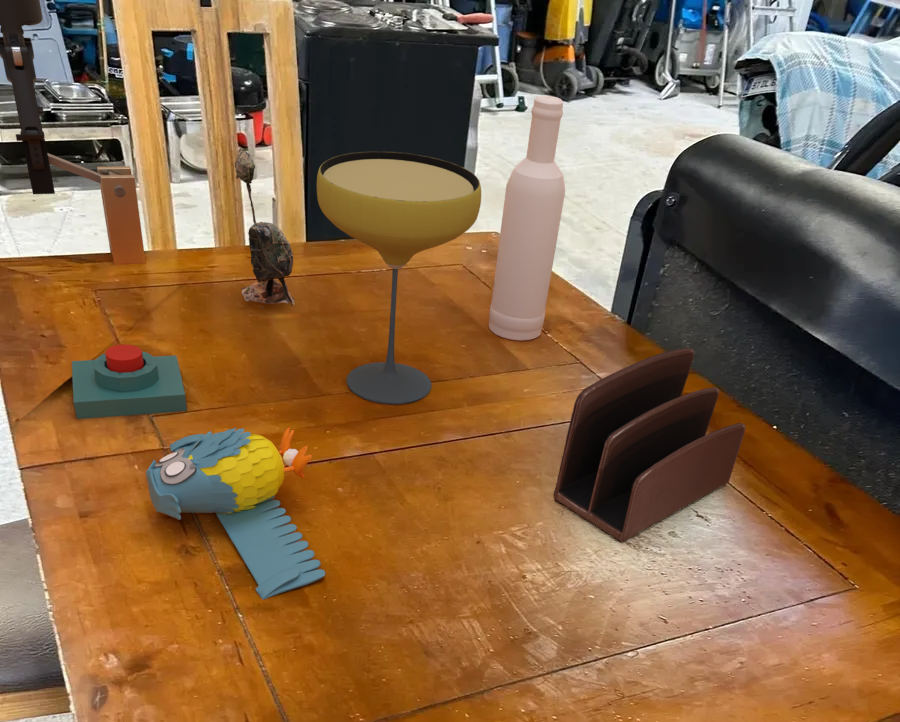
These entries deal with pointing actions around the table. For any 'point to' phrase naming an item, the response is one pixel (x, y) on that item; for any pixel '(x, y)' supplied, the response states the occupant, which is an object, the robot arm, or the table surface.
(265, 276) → the stone bird sculpture
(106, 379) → the button block
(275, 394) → the table surface
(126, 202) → the bracket
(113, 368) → the button
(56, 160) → the lever
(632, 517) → the letter holder
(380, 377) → the cocktail glass
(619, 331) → the table surface
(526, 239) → the bottle
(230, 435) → the owl figurine
